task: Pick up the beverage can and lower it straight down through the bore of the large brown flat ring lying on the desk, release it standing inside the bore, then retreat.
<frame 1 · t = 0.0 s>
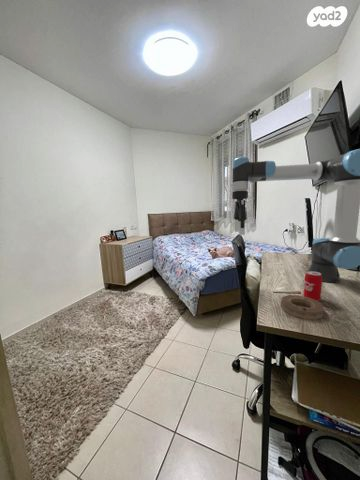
hand: (239, 233, 99), 28 cm above the table, fingers open, 13 cm apart
brown flat ring: (301, 309, 76), on the table
lace cord: (286, 292, 92), on the table
beverage can: (311, 299, 85), on the table
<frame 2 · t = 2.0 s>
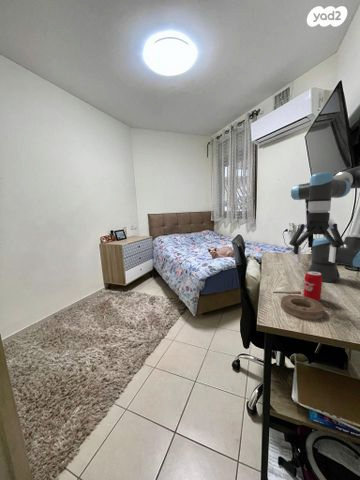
hand: (314, 261, 82), 17 cm above the table, fingers open, 13 cm apart
nothing on the table moved.
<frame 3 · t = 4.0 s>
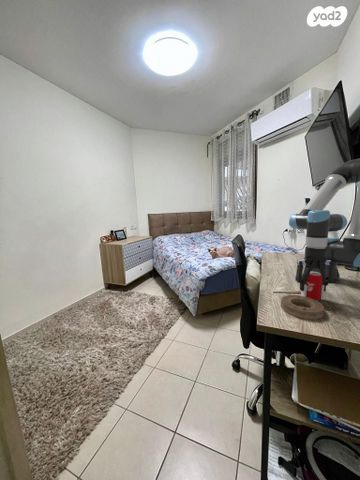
hand: (311, 297, 85), 0 cm above the table, fingers closed on beverage can, 6 cm apart
beverage can: (311, 299, 85), on the table, touching gripper
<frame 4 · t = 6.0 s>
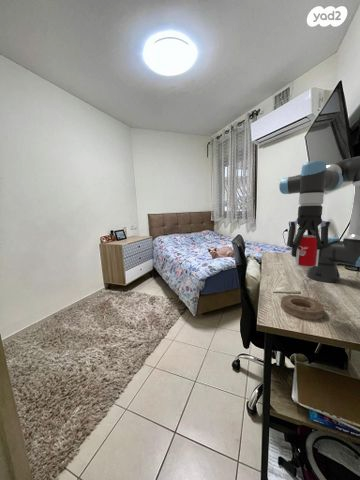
hand: (305, 265, 75), 18 cm above the table, fingers closed on beverage can, 6 cm apart
beverage can: (304, 266, 75), point 17 cm above the table, touching gripper
when the fingers open (3 cm above the table, at t = 7.9 s): beverage can drops 2 cm, point 1 cm above the table.
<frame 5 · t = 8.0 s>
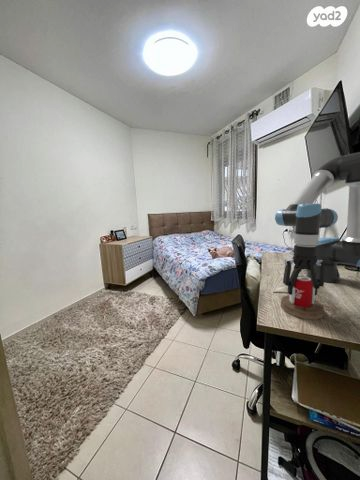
hand: (301, 302, 76), 3 cm above the table, fingers open, 6 cm apart
beverage can: (300, 307, 76), point 1 cm above the table
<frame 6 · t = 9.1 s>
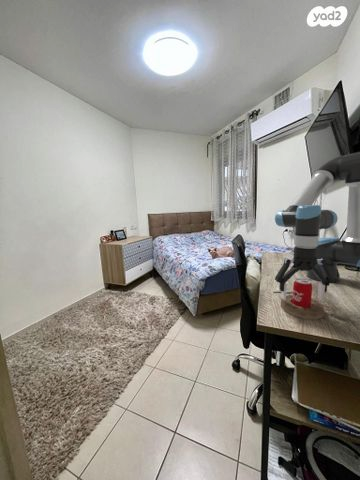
hand: (301, 299, 75), 4 cm above the table, fingers open, 13 cm apart
beverage can: (300, 310, 76), resting in brown flat ring
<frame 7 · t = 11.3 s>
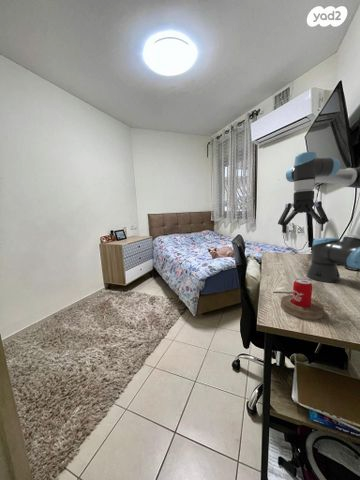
hand: (301, 239, 86), 26 cm above the table, fingers open, 13 cm apart
nothing on the table moved.
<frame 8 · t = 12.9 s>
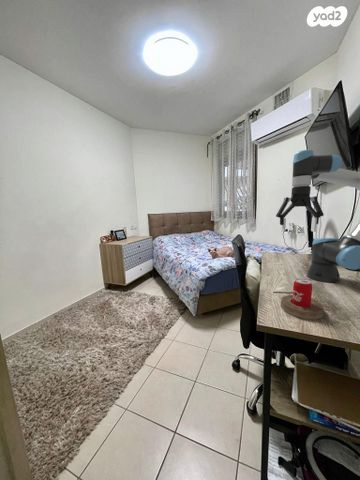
hand: (298, 231, 92), 29 cm above the table, fingers open, 13 cm apart
nothing on the table moved.
at the end: beverage can 0.1 cm from the brown flat ring (horizontally); beverage can resting in brown flat ring; beverage can tilted 0° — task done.
